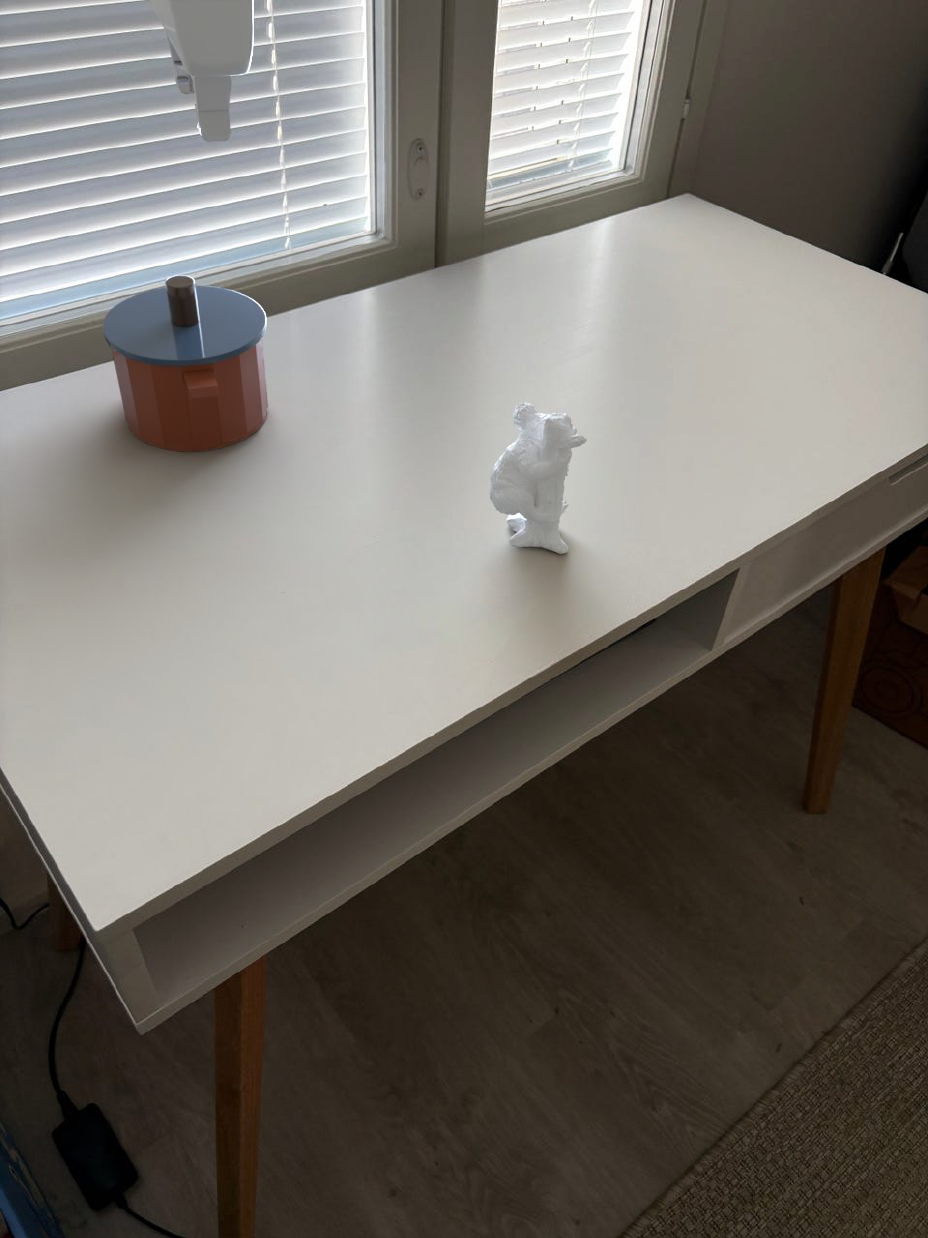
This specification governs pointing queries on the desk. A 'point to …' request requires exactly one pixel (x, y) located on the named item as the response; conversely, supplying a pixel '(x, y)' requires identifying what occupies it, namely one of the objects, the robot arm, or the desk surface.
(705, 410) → the desk surface
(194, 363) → the lid
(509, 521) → the koala figurine
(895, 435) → the desk surface
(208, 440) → the pot
